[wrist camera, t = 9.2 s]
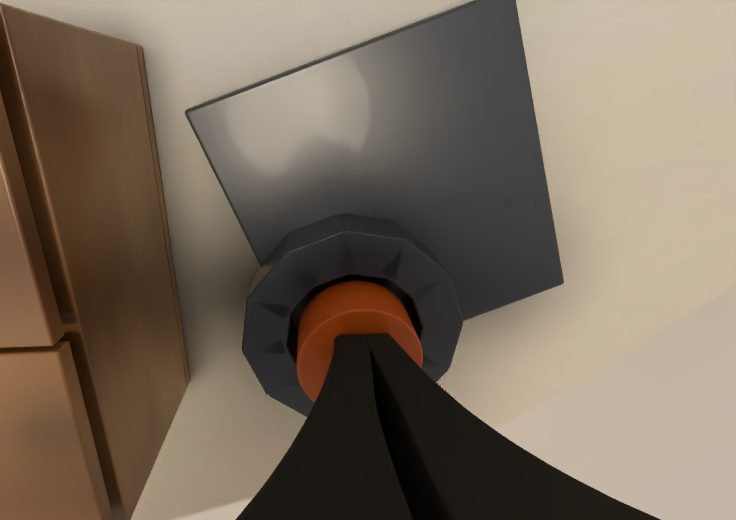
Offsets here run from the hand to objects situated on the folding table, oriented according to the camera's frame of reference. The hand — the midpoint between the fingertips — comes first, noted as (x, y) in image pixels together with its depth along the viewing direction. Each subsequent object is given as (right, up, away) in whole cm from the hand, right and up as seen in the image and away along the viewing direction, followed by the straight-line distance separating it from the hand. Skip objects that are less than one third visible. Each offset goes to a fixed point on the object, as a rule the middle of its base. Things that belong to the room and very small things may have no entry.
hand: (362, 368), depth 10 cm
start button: (0, +1, +2) cm, 2 cm away
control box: (+1, +5, +3) cm, 6 cm away
